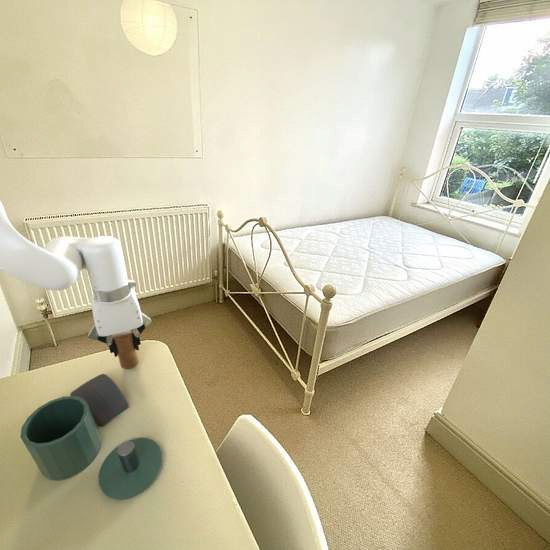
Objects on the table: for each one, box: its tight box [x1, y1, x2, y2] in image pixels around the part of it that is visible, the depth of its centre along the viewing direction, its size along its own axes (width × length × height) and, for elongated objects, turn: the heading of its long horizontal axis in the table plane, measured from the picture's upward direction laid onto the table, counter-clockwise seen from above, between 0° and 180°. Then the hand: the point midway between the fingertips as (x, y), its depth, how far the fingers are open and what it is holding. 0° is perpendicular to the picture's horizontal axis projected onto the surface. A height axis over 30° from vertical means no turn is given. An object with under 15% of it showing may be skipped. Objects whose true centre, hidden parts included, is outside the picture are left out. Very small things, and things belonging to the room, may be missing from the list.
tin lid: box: [98, 437, 163, 501], centre depth 58 cm, size 11×11×7 cm
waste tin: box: [20, 395, 102, 481], centre depth 59 cm, size 10×10×10 cm
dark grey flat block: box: [69, 373, 130, 427], centre depth 71 cm, size 8×14×4 cm, turn 55°
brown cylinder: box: [113, 330, 140, 370], centre depth 79 cm, size 4×4×10 cm
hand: (126, 349), depth 79 cm, fingers closed on brown cylinder, 4 cm apart
